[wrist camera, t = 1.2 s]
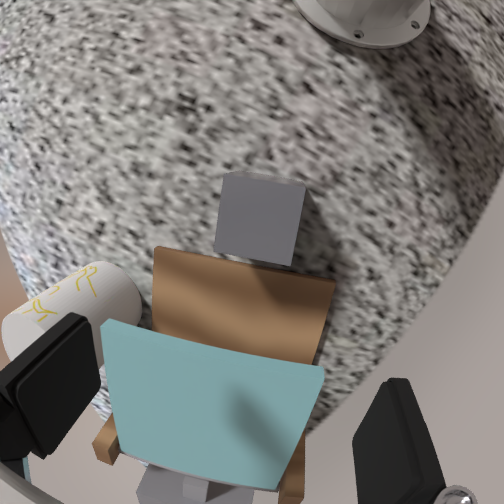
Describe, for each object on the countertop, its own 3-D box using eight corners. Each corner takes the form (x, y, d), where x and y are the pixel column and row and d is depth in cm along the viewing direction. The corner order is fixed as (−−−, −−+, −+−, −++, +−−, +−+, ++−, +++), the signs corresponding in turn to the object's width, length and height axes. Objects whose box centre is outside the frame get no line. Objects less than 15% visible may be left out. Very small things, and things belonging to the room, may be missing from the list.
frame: (156, 245, 27) (60, 313, 14) (337, 280, 26) (369, 385, 13) (153, 380, 32) (101, 469, 19) (294, 412, 31) (289, 517, 18)
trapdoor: (120, 302, 18) (86, 333, 14) (325, 346, 17) (331, 392, 13) (141, 475, 24) (128, 502, 21) (260, 504, 23) (256, 535, 20)
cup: (118, 249, 28) (33, 301, 16) (155, 323, 29) (95, 401, 18) (66, 275, 29) (-11, 324, 18) (101, 339, 31) (40, 404, 20)
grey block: (239, 170, 24) (224, 173, 19) (302, 181, 24) (305, 188, 18) (230, 230, 26) (213, 251, 20) (290, 241, 25) (290, 266, 20)
